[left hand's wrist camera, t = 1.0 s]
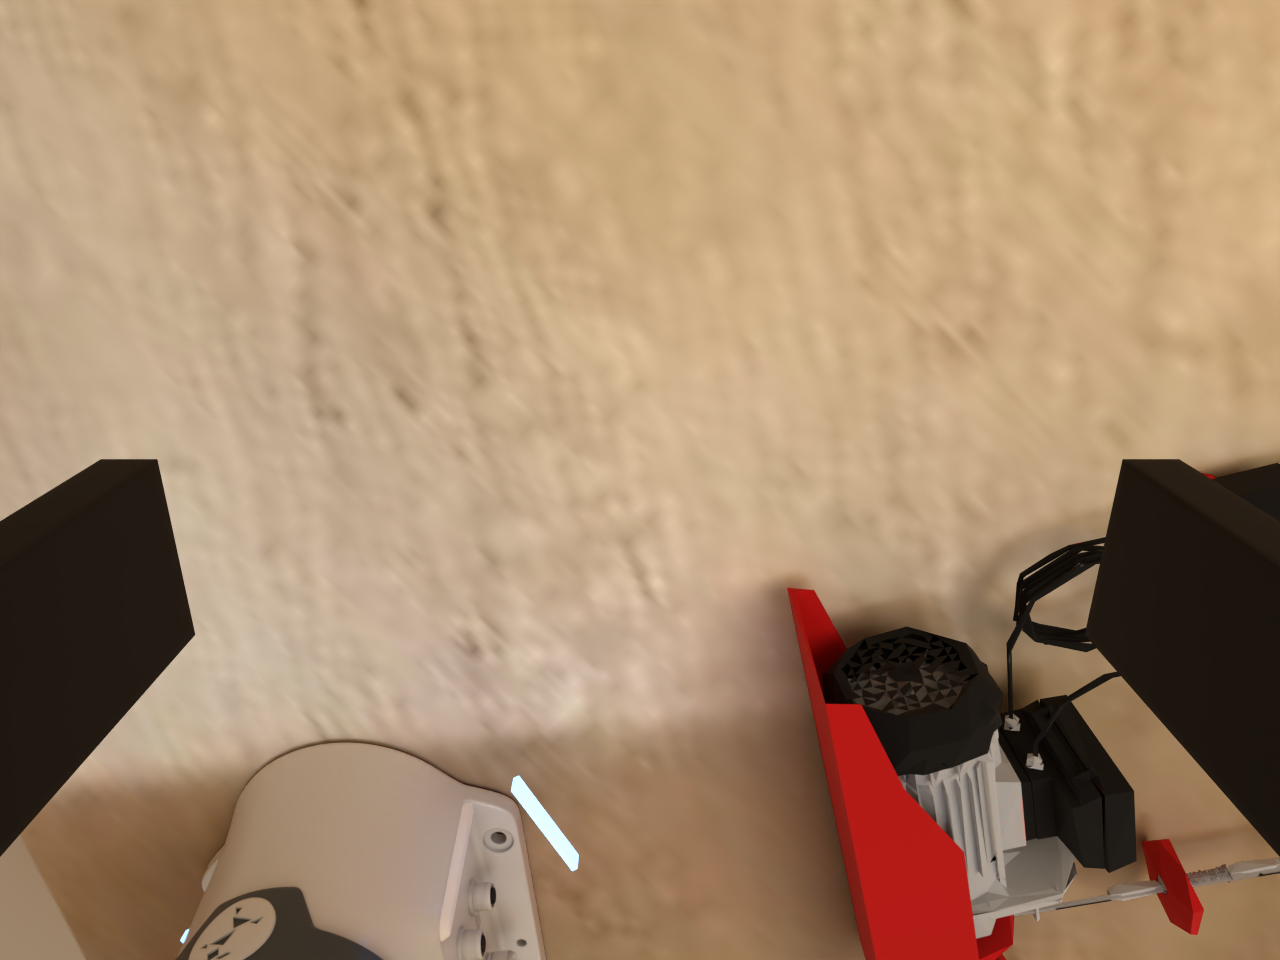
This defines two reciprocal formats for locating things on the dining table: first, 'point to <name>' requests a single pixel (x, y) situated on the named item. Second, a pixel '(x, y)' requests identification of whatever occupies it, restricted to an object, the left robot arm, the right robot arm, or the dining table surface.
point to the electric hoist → (979, 779)
